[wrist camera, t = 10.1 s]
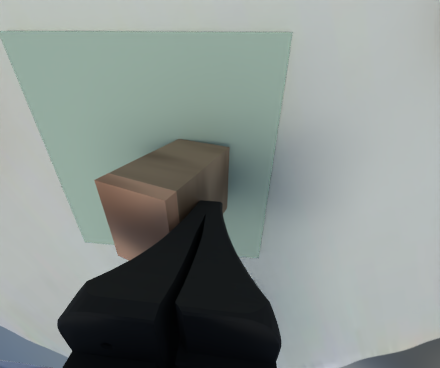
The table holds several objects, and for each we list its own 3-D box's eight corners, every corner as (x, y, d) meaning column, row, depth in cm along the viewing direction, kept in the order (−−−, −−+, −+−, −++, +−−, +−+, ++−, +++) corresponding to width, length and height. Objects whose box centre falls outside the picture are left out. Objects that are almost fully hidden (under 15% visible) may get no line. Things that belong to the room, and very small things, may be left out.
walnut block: (227, 208, 16) (175, 281, 11) (183, 196, 18) (118, 255, 12) (229, 147, 14) (164, 200, 8) (178, 138, 15) (94, 179, 10)
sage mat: (258, 253, 21) (258, 258, 21) (88, 238, 23) (84, 242, 22) (290, 33, 12) (292, 32, 12) (7, 32, 14) (-3, 31, 13)
